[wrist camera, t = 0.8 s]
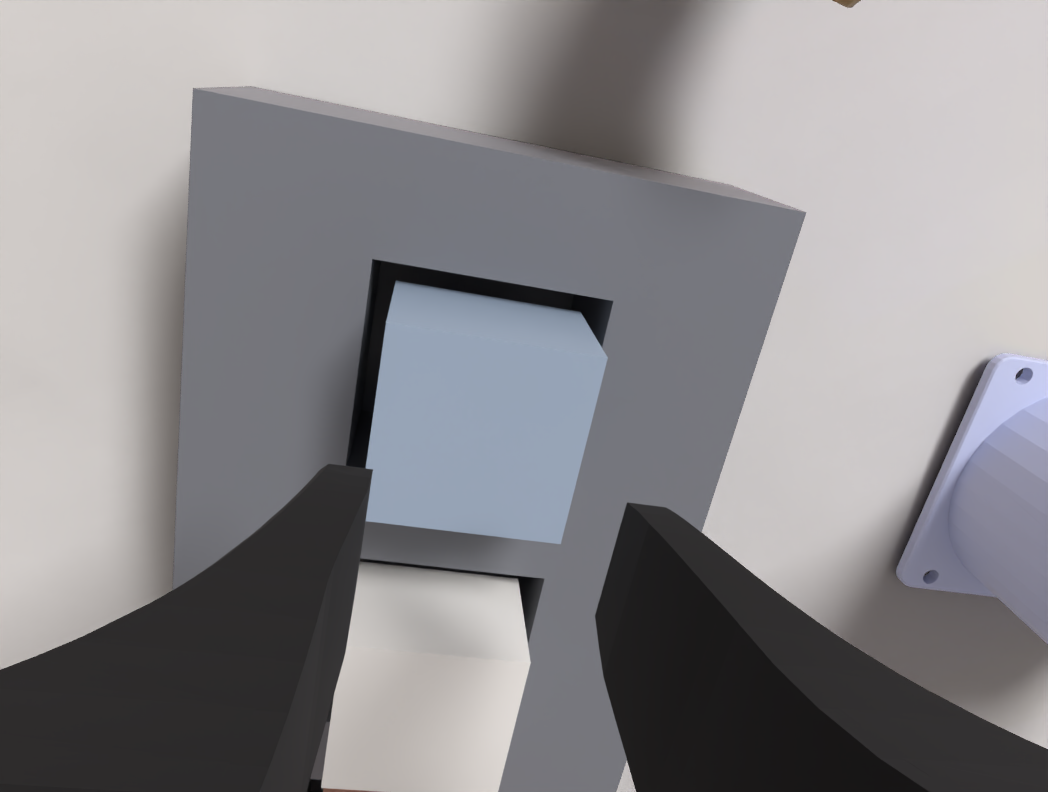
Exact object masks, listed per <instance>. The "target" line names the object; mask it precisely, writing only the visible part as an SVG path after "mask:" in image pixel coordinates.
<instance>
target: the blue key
mask: <svg viewBox="0 0 1048 792" xmlns="http://www.w3.org/2000/svg"><path fill="white" fill-rule="evenodd" d="M607 359H608V357H607V356H606V354H605V352H604V351H603V349H602V347H601V346H600V344H599V342H598V340H597V339H596V337H595V335H594V334H593V332H592V330H591V329H590V327H589V325H588V324H587V322H586V320H585V319H584V317H583V315H582V314H581V312H578V311H573V310H567V309H561V308H555V307H549V306H543V305H537V304H532V303H526V302H520V301H514V300H508V299H502V298H496V297H490V296H485V295H479V294H473V293H467V292H461V291H455V290H449V289H444V288H438V287H432V286H426V285H420V284H414V283H408V282H402V281H397V280H396V282H395V286H394V291H393V295H392V299H391V303H390V308H389V312H388V316H387V320H386V326H385V333H384V341H383V348H382V355H381V362H380V369H379V376H378V384H377V391H376V398H375V405H374V412H373V419H372V426H371V434H370V441H369V448H368V455H367V462H366V469H373V473H372V480H371V487H370V494H369V501H368V508H367V515H366V521H369V522H377V523H386V524H394V525H403V526H411V527H419V528H428V529H436V530H445V531H453V532H462V533H470V534H479V535H487V536H495V537H504V538H512V539H521V540H529V541H538V542H546V543H555V544H561V541H562V537H563V533H564V529H565V525H566V521H567V517H568V513H569V509H570V505H571V502H572V498H573V494H574V490H575V486H576V482H577V478H578V474H579V470H580V466H581V462H582V458H583V454H584V450H585V446H586V442H587V438H588V434H589V430H590V426H591V422H592V418H593V415H594V411H595V407H596V403H597V399H598V395H599V391H600V387H601V383H602V379H603V375H604V371H605V367H606V363H607Z"/></svg>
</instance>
